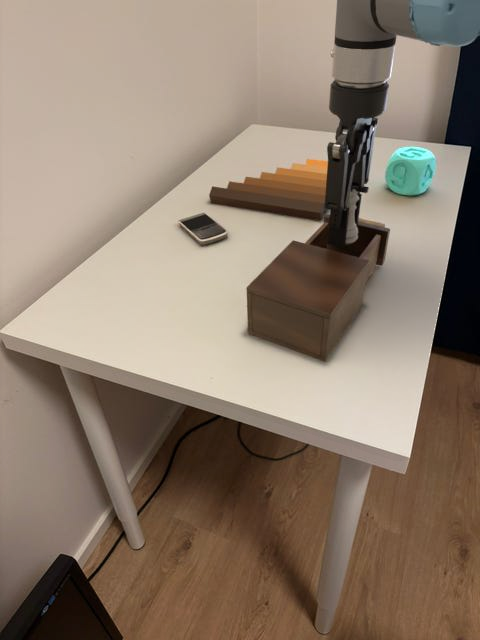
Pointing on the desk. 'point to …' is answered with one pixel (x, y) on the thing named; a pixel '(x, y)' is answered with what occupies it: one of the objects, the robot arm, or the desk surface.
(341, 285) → the cabinet
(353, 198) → the rook chess piece
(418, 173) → the decorative dice
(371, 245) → the drawer
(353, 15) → the robot arm
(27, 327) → the desk surface
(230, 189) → the pan flute
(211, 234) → the cell phone
